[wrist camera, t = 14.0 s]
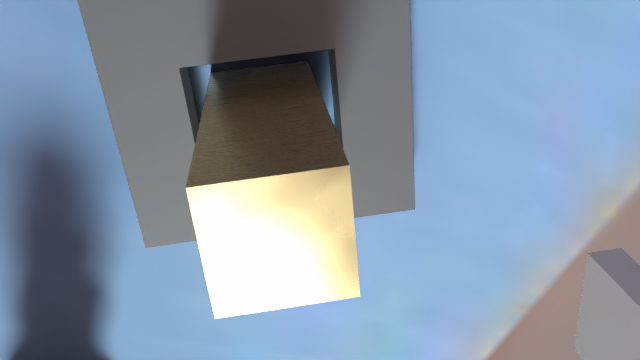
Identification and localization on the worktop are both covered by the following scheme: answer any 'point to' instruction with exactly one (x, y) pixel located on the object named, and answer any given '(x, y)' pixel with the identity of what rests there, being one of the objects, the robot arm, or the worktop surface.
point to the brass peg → (271, 193)
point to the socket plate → (242, 44)
